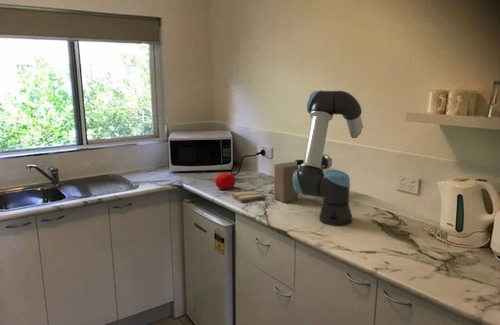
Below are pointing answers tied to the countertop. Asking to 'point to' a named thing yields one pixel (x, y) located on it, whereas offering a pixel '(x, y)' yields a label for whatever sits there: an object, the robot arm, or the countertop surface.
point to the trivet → (248, 196)
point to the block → (284, 182)
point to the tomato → (225, 181)
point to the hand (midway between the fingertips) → (293, 167)
